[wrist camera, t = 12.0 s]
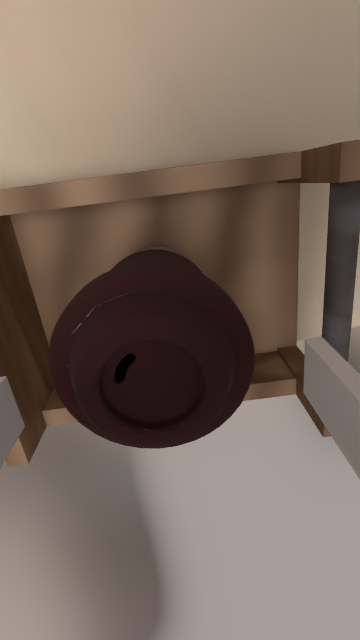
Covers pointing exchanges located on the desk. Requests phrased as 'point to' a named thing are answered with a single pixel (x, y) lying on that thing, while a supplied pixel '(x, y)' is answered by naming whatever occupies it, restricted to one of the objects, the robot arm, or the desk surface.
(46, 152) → the desk surface
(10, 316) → the wooden crate
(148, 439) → the coffee cup
